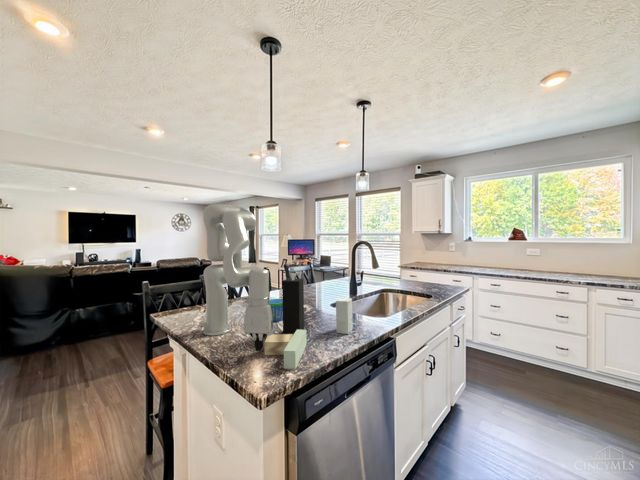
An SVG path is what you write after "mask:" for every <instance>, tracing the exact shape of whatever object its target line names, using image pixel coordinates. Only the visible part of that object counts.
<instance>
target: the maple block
mask: <svg viewBox="0 0 640 480" xmlns="http://www.w3.org/2000/svg"><path fill="white" fill-rule="evenodd" d="M292 337H293V334H283V333H282V334H281V333H279V334H277V333H273V334H272V335H270V336H266V337H265V338H266V339H265V340H264V341H263V344H264V356H284V349H285V348H286V346H287V345H288V343H289V341H290V340H291V338H292Z"/></svg>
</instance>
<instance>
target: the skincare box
mask: <svg viewBox="0 0 640 480" xmlns="http://www.w3.org/2000/svg"><path fill="white" fill-rule="evenodd" d="M335 316H336V318H335V319H336V320H335V323H336V324H335V325H336V334H343V335H349V334H350V333H351V331H352V330H353V329H354V324H353V323H354V322H353V318H354V317H353V298H350V297H348V298H346V297H340V298H338V299H337V300H336V301H335Z"/></svg>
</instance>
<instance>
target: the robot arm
mask: <svg viewBox="0 0 640 480" xmlns="http://www.w3.org/2000/svg"><path fill="white" fill-rule="evenodd" d="M202 217H203V218H202V219H203V223H204V227H205V231H206V255H207V259H208V261H210V262H215V263H216V262H217V263H218V262H222V263H221V264H219V263H218V264H211V265H208V266H207V267H205V268H204V270H203V280H204V285H205V301H206V303H205V304H206V305H205V307H206V309H205V310H206V313H205V314H206V315H205V316H206V317H205V318H206V321H200V322H199V325H198V327H200V328H202V327H203V330H202V334H204V335H206V336H220V335H224V334H228V333H229V332H230V331H232V326H231V325H230V324H229V314H228V312H229V308H228V307H229V306H228V305H229V303H228V302H229V301H228V299H229V298H228V291H227V290H226V288H225V287H224V285H225V284H227V285H228V286H229V287H230V288H232V289H236V288H243V287H248V297H245V300H244V302H245V303H247V305H246V307H245V311H244V319H243V320H244V321H243V330H244V334H245V335H248V336H251V338H252V340H253V342H254V343H253V344H254V348H255V352H261V351H262V349H263V348H264V339H265V338H267V336H270V335H272V334H274V331H273V327H274V321H273V317H272V310H271V305H270V304H269V300H270V275H269V270H267V269H266V268H261V267H258V266H243V259H242V258H243V255H242V251H243V250H245V249H246V248H247V247H249V245H250V238H249V235H248V232H247V231H250V232H251V231H253V230H255V229H256V227H257V219H256V216H255V215H254V214H253V212H251V211H250V210H248V209H246V208H245V207H242V206H238V205H230V204H229V205H228V204H220V203H219V204H216V203H215V204H214V203H213V204H209V205H206V206H205V208H204V210H203V215H202Z"/></svg>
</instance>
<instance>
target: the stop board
mask: <svg viewBox="0 0 640 480" xmlns="http://www.w3.org/2000/svg"><path fill="white" fill-rule="evenodd" d="M306 347H307V329H304V330H296V332H295V333H294V335H293V337H292V338H291V340H290V341H289V343H288V345H287V346H286V348H285V349H284V355H283V369H286V370H287V369H289V370H296V369H297V366H298V365H299V363H300V360H301V358H302V355H303V353H304V351H305V349H306Z"/></svg>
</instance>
